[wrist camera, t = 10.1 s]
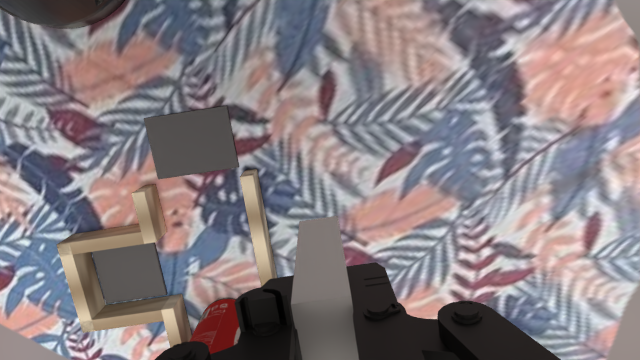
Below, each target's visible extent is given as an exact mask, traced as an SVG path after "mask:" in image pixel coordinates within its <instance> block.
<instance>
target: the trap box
mask: <svg viewBox="0 0 640 360" xmlns="http://www.w3.org/2000/svg"><path fill="white" fill-rule="evenodd" d="M240 180H241V185H242V191H243V196H244V201H245V206H246V211H247V216H248V221H249V226H250V231H251V236H252V242H253V247H254V252H255V257H256V262H257V267H258V272H259V277H260V282H261V287H262V286H263V285H264V284H265V283H266V282H267V281H268V280H269V279H273V278H277V274H276V269H275V263H274V258H273V253H272V247H271V242H270V237H269V231H268V226H267V220H266V215H265V210H264V204H263V199H262V194H261V188H260V183H259V178H258V172H257V169H253V170H247V171H244V173H243V174H242V175H241V176H240ZM132 198H133V202H134V206H135V209H136V213H137V217H138V221H139V224H137V225H130V226H124V227H117V228H110V229H104V230H97V231H90V232H83V233H77V234H73V235H71V236H70V237H68V238H66V239H65V240H63V241H62V242H60V243H58V244H57V248H58V251H59V254H60V258H61V261H62V264H63V268H64V271H65V274H66V278H67V281H68V284H69V288H70V291H71V294H72V298H73V301H74V304H75V308H76V311H77V314H78V318H79V321H80V324H81V328H82V331H83V333H84V332H91V331H98V330H105V329H112V328H119V327H126V326H133V325H140V324H147V323H153V322H160V321H164V324H165V328H166V332H167V335H168V339H169V343H170V347H173V346H174V345H176V344H181V343H182V342H189V341H190V339H191V337H192V334H191V330H190V325H189V321H188V317H187V313H186V309H185V305H184V300H183V296H182V294H179V295H172V296H165V297H158V298H151V299H144V300H137V301H131V302H124V303H117V304H110V305H106V304H105V301H104V297H103V294H102V290H101V287H100V283H99V280H98V276H97V273H96V269H95V266H94V262H93V259H92V255H91V252H93V251H100V250H107V249H113V248H120V247H127V246H133V245H140V244H147V243H154V242H157V241H158V240H159V239H160V238H161V237H162V236H163V235H164V234H165V233H166V232H167V230H166V225H165V221H164V217H163V213H162V209H161V205H160V201H159V196H158V192H157V188H156V184H154V185H147V186H143V187H141V188H140V189H138V190H136V191H135V192H133V193H132Z"/></svg>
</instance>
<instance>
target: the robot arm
mask: <svg viewBox="0 0 640 360" xmlns="http://www.w3.org/2000/svg"><path fill="white" fill-rule="evenodd" d="M123 1H124V0H0V9H1V10H3V11H5V12H6V13H8V14H10V15H12V16H14V17H16V18H19V19H21V20H24V21H27V22H30V23H34V24H38V25H43V26H48V27H53V28H64V29H68V28H79V27H84V26H87V25H91V24H93V23H96V22H98V21H100V20H102V19H104V18H105V17H107V16H108V15H110V14H111V13H112V12H113V11H115V10H116V9H117V8H118V7H119V6H120V5H121V4H122V2H123ZM234 304H235V309H236V313H237V318H238V323H239V327H240V336H239V339H238V343H237V344H235V345H233V346H231V347H229V348H226V349H224V350H221V351H218V352H215V353H212V354H210V352H209V347H208V345H206V344H205V343H203V342H198V341H191V342H182V343H181V344H176V345H174V346H173V347H171V348H169V349H167V350H165V351H164V352H163V353H162V354H160V355H159V356H158V357H157V358H156V359H155V360H561V359H559V358H558V357H557V356H555V355H554V354H553V353H551V352H550V351H548V350H547V349H546V348H544V347H543V346H542V345H540V344H539V343H538V342H536V341H535V340H534V339H532V338H531V337H530V336H528V335H527V334H526V333H524V332H523V331H521V330H520V329H519V328H517V327H516V326H515V325H513V324H512V323H511V322H509V321H508V320H507V319H505V318H504V317H503V316H501V315H500V314H499V313H497V312H496V311H494V310H493V309H492V308H490V307H488V306H486V305H484V304H481V303H477V302H473V301H459V302H453V303H450V304H448V305H445V306H443V307H442V308H441V309H440V310H439V311H438V319H423V318H417V317H413V316H410V315H408V314H407V313H406V310H405V308H404V307H403V306H402V305H401V304H400V303H398V302H397V299H396V297H395V294H394V291H393V289H392V286H391V283H390V281H389V278H388V276H387V273H386V270H385V268H384V267H382V266H381V265H379V264H378V263H376V262H375V263H368V264H361V265H354V266H347V267H346V263H345V257H344V251H343V245H342V239H341V233H340V227H339V222H338V216H333V217H326V218H320V219H313V220H306V221H300V223H299V232H298V242H297V251H296V260H295V270H294V276H287V277H280V278H273V279H269V280H268V281H267V282H266V283H265V284H264V285H263V286H262V287H261V288H256V289H253V290H250V291H248V292H246V293H244V294H242V295H241V296H240V297H238V298H237V300H236V301H235V302H234Z"/></svg>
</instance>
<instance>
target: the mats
mask: <svg viewBox="0 0 640 360" xmlns="http://www.w3.org/2000/svg"><path fill="white" fill-rule="evenodd" d="M144 121H145V125H146V130H147V134H148V138H149V142H150V146H151V151H152V155H153V159H154V163H155V167H156V172H157V176H158V179H164V178H170V177H177V176H183V175H190V174H197V173H203V172H210V171H216V170H223V169H230V168H236V167H239V164H238V159H237V154H236V149H235V144H234V139H233V133H232V128H231V123H230V118H229V113H228V108H227V106H222V107H215V108H209V109H202V110H196V111H189V112H183V113H176V114H170V115H163V116H157V117H150V118H144ZM92 254H93V258H94V261H95V265H96V268H97V272H98V275H99V279H100V283H101V286H102V290H103V293H104V297H105V300H106V304H107V303H114V302H121V301H127V300H134V299H141V298H148V297H155V296H162V295H167V290H166V286H165V282H164V278H163V274H162V270H161V266H160V262H159V258H158V254H157V250H156V246H155V242H154V243H147V244H140V245H133V246H127V247H120V248H113V249H107V250H100V251H93V252H92Z"/></svg>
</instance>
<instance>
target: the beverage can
mask: <svg viewBox="0 0 640 360" xmlns="http://www.w3.org/2000/svg"><path fill="white" fill-rule="evenodd" d="M235 301H236V300H234V299H222V300H218V301H216V302H214V303H212V304H211V305H209V306H208V308H207V309H206V310H205V311H204V313H203V315H202V317H201V319H200V321H199V323H198V325H197V327H196V329H195V331H194V333H193V335H192V337H191V339H190V341H189V342H191V341H198V342H203V343H205V344H206V345H208V347H209V352H210V354H212V353H215V352H218V351H221V350H224V349H226V348H229V347H231V346H233V345H235V344H237V343H238V339H239V336H240V327H239V323H238V318H237V313H236V309H235V304H234V302H235Z"/></svg>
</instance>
